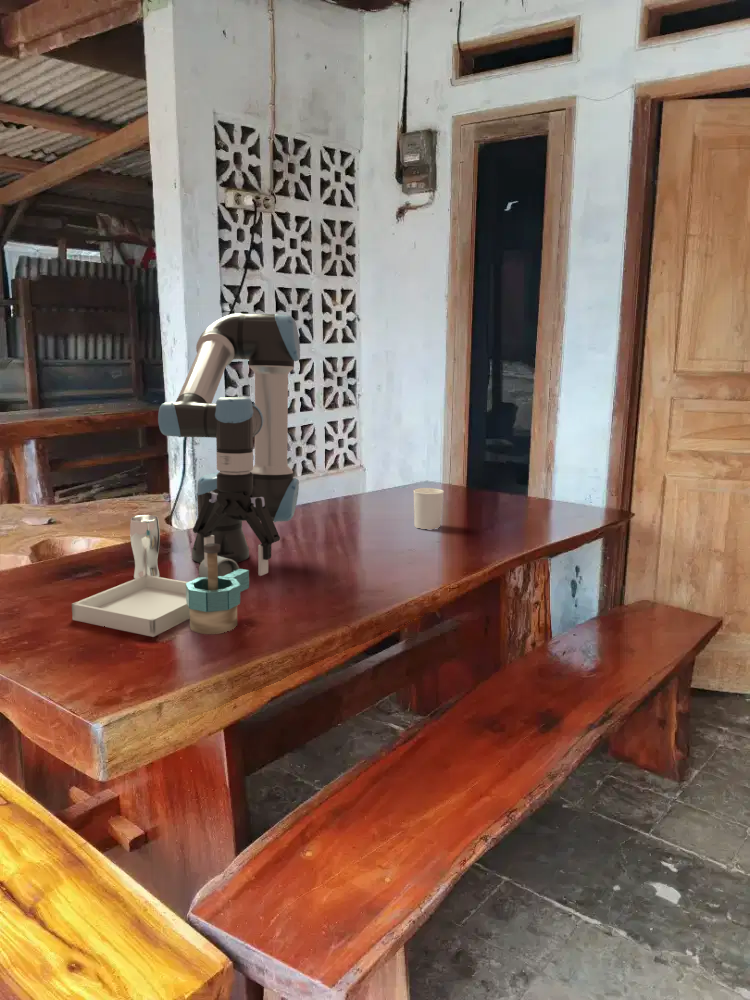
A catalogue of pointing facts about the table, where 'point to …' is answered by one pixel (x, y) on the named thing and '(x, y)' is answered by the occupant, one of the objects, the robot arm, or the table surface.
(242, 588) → the ring
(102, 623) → the tray
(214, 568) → the wooden peg stand
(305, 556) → the table surface
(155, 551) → the beer glass
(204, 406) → the robot arm
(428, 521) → the candle holder
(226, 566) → the ceramic mug
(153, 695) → the table surface
